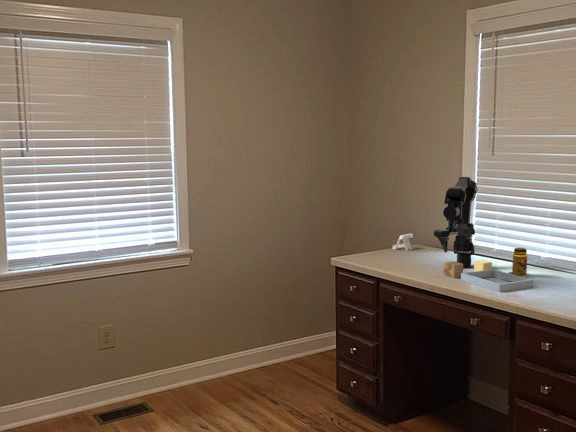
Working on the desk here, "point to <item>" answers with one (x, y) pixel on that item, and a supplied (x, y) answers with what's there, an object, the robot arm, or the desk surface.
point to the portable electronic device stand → (406, 242)
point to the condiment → (519, 262)
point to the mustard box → (482, 265)
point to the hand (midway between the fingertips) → (453, 251)
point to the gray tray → (514, 283)
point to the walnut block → (453, 269)
